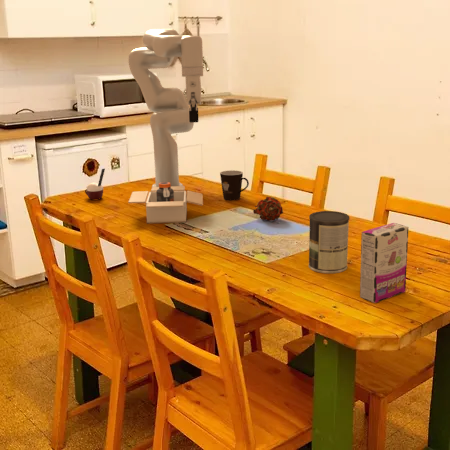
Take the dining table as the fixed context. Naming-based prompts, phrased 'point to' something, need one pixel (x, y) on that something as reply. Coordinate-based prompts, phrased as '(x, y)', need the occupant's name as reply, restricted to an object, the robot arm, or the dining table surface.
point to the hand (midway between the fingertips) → (194, 120)
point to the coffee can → (328, 241)
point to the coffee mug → (232, 184)
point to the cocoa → (95, 188)
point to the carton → (163, 205)
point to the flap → (194, 198)
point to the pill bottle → (165, 192)
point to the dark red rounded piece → (268, 209)
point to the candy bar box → (383, 262)
